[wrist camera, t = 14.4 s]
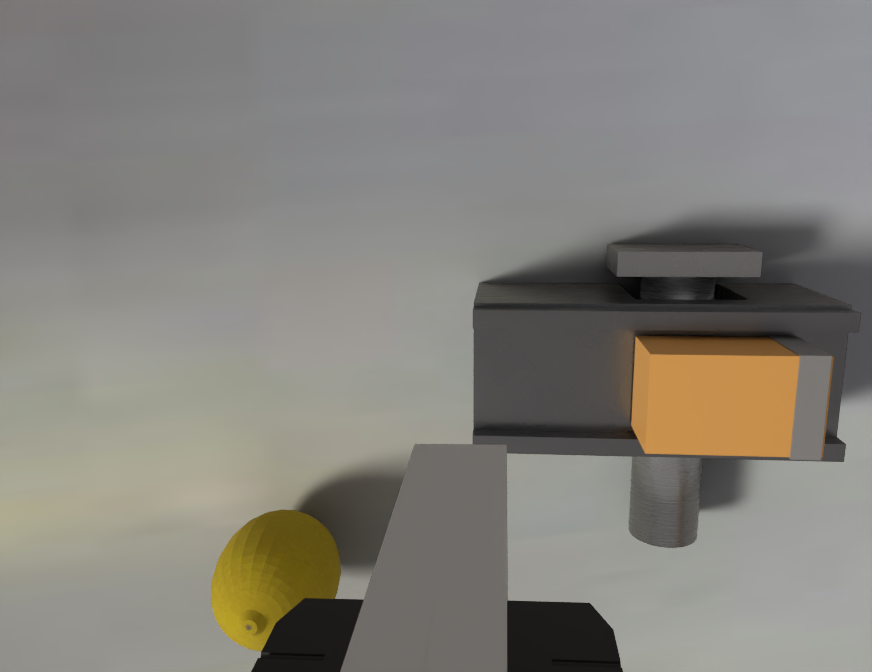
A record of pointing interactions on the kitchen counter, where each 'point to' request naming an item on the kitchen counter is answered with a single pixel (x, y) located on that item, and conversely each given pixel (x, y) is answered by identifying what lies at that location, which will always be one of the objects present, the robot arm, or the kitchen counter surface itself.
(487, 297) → the block
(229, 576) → the lemon
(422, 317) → the kitchen counter surface
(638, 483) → the pin
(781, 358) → the block
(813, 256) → the kitchen counter surface
